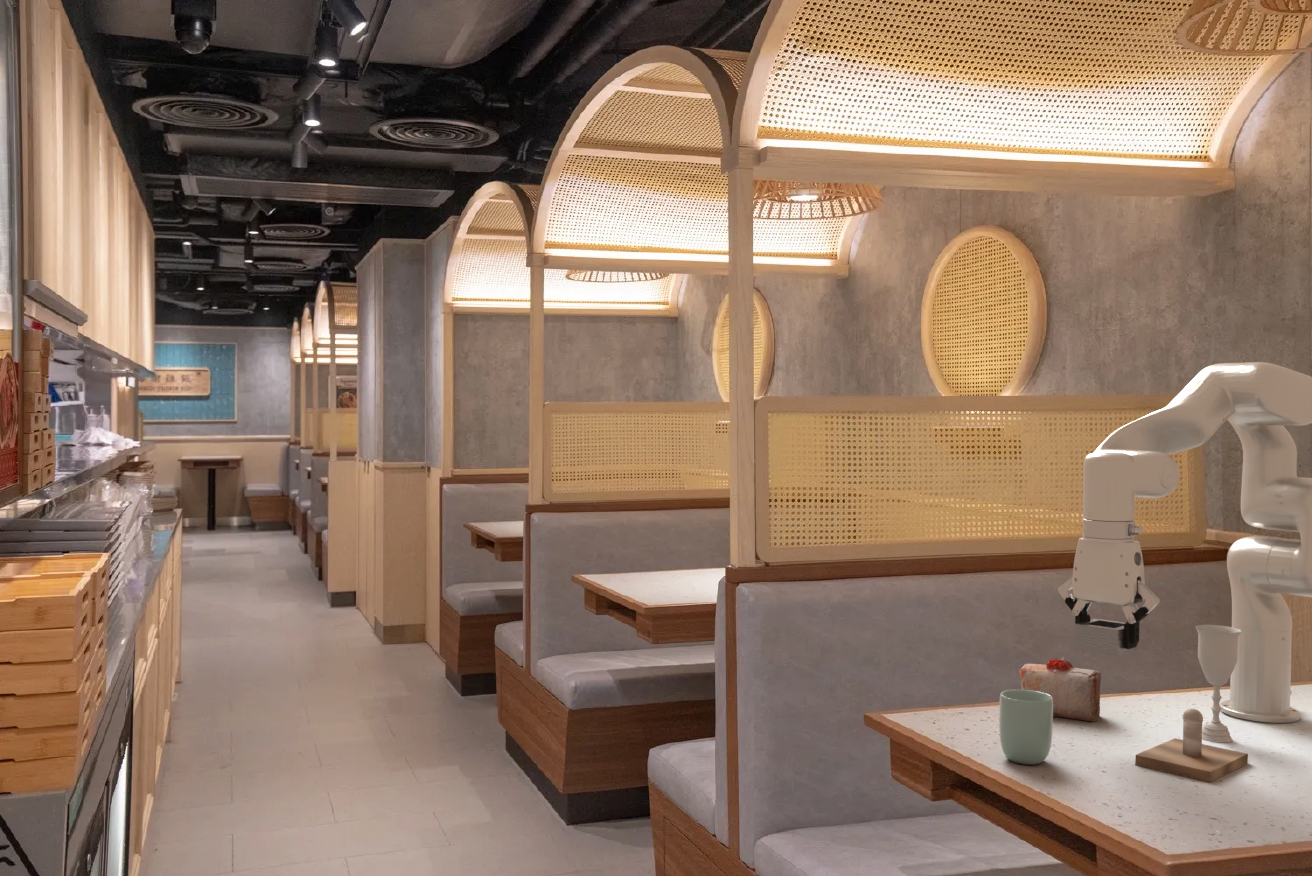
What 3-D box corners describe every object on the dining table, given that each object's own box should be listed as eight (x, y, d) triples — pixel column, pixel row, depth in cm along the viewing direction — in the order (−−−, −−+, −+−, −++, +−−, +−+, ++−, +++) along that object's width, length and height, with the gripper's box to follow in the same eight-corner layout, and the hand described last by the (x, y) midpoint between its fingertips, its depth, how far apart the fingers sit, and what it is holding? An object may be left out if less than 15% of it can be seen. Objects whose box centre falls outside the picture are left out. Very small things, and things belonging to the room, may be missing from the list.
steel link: (1095, 643, 188) (1095, 618, 188) (1138, 649, 183) (1138, 624, 183) (1074, 649, 184) (1074, 623, 184) (1117, 656, 179) (1118, 630, 178)
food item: (1013, 713, 206) (1014, 657, 206) (1025, 704, 213) (1026, 650, 213) (1094, 725, 199) (1095, 667, 199) (1103, 715, 206) (1105, 659, 206)
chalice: (1244, 745, 187) (1247, 633, 187) (1199, 742, 189) (1201, 631, 188) (1231, 733, 194) (1234, 626, 194) (1187, 730, 196) (1190, 623, 195)
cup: (996, 764, 175) (997, 698, 175) (1000, 751, 182) (1002, 687, 182) (1050, 771, 172) (1052, 703, 172) (1053, 757, 179) (1054, 692, 179)
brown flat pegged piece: (1174, 747, 185) (1176, 695, 185) (1247, 763, 177) (1249, 708, 177) (1135, 764, 176) (1136, 709, 176) (1210, 782, 168) (1211, 724, 168)
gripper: (1174, 534, 179) (1172, 649, 180) (1067, 525, 192) (1066, 633, 192) (1152, 537, 174) (1150, 656, 175) (1044, 528, 187) (1043, 639, 187)
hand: (1106, 643), depth 183 cm, fingers closed on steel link, 7 cm apart
